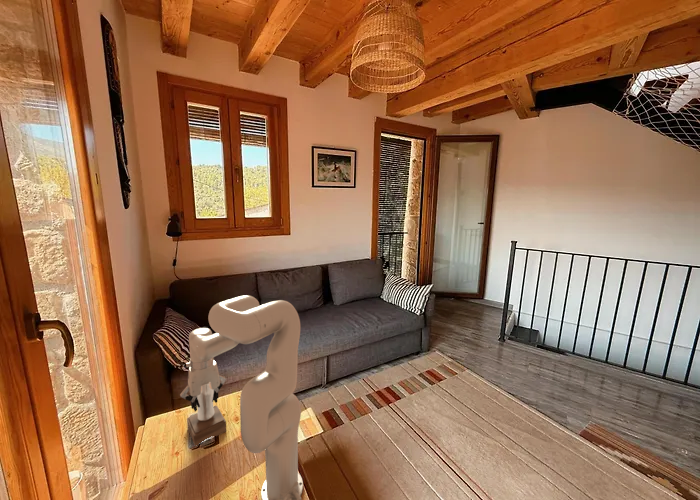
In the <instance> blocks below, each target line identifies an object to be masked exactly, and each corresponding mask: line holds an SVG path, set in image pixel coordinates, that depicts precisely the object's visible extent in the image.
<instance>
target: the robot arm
mask: <svg viewBox="0 0 700 500" xmlns="http://www.w3.org/2000/svg"><path fill="white" fill-rule="evenodd" d="M207 319H208V323H209V326H210V327H211V328H208V327H200V328H199V327H198V328H196V329H194V330H192V331H190V332H189V335H188V344H189V345H188V346H189V357H190V359H189V362H187V363H186V364H185V365H186V368H188V373H187V374H188V375H187V385H186V387H185V388H184V389H183V390H182V392H181V393H180V394H179V396H180V398H182V399H184V400H186V401H188V402H190V407H191V410H194V412H198V408H197V402H196V400H195V399H196V396H198V395H200V394H201V385H204V384H207V383H209V382H210V383H211V387H212V390H213V389H214V390H215V392H214V400H213V402H214V403H216V404H217V403H218V399H219V392H220V389H221V388H222V387H223V385H224V384H225V382H226V380H227V378H226V377H225V376H223V375H220V372H219V368H218V364H217V362H216V361H215V357H217V356H220V355H221V354H224V353H226V352H228V351H231V350H232V349H233V348H235V347H237V346H238V344H242V345H250V344H253V343H256V342H257V341H260V340H261V339H264V338H265V337H268V336H270V335H272V334H273V337H272V338H271V340H270V343H269V346H268V347H267V351H266V365H265V369H263V371H261V372H260V373H259V374H257V375H256V376H254V377H253V378H251V379H249V380H248V381H247V382H246V383H245V384H244V386H243V388H242V389H241V392H240V398H239V400H240V401H239V402H240V404H239V405H240V408H239V409H240V411H239V412H240V416H239V417H240V436H241V440H242V442H243V445H244V446H245V448H246V450H247V451H248V452H250V453H252V454H260V453H262V452H264V454H265V456H264V457H265V459H264V460H265V480H264V481H263V484H262V487H261V490H260V491H261V492H260V495H261V496H260V497H261V500H302V497H301V496H302V493H303V490H304V480H303V478H302V476H301V473H299V463H298V462H299V451H298V450H299V448H298V447H299V445H298V444H299V443H298V442H299V440H298V439H299V427H300V426H299V425H300V421H301V418H302V414H301V413H302V409H301V408H302V407H301V403H300V400H299V399H298V397H297V396H296V394H294V392H295V390H296V387H297V382H298V362H299V361H298V356H299V355H298V352H299V343H300V337H301V319H300V316H299V313H298V311H297V309H296V308H295V307H294V305H293V304H292V303H290V302H289V301H287V300H283V299H279V300H273V301H269V302H266V303H263V304H261V305H260V302H259V301H258V299H257V298H255V297H254V296H252V295H249V294H248V295H247V294H246V295H240V296H236V297H232V298H230V299H226V300H223V301H220V302H217V303H216V304H214V305H213V306H212V307H211V308H210V310H209V313H208V318H207ZM211 329H212V330H213V331H214V332H215V333H213V331H212V330H211ZM188 393H189V394H188Z"/></svg>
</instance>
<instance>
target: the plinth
mask: <svg viewBox="0 0 700 500" xmlns="http://www.w3.org/2000/svg"><path fill="white" fill-rule="evenodd" d="M213 407H214V411H215V414H214V416H213V417H212V418H211V419H209V420H206V421H199V420H198V419H197V413H195V414H192V415H190V416H188V417H187V418H186V422H187V423H186V424H187V430H188V432H189V435H190V438H191V437H192V438H191V440H192V443H193V445H195V446H196V445H198V444H199V443H201V442H202V441H204V440H205V439H207V438H209V437H211V436H216V437H218V436H220V435H222V434H224V433H226V432H227V421H226V419H225V417H224V415H223V414H222V412H221V410H220V408H219V407H218V405H213ZM195 446H194V447H195ZM198 446H199V445H198ZM196 447H197V446H196Z"/></svg>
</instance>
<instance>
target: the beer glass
mask: <svg viewBox="0 0 700 500" xmlns="http://www.w3.org/2000/svg"><path fill="white" fill-rule="evenodd" d="M214 392H215V390H214V389H213V390H212V387H211V383H210V382H209V383H207V384H204V385H201V394H200V395H198V396H196V399H195V400H196V402H197V413H196V414H197V419H198V420H199V421H206V420H209V419H211V418H212V417H213V416H214V414H215V411H214Z"/></svg>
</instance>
